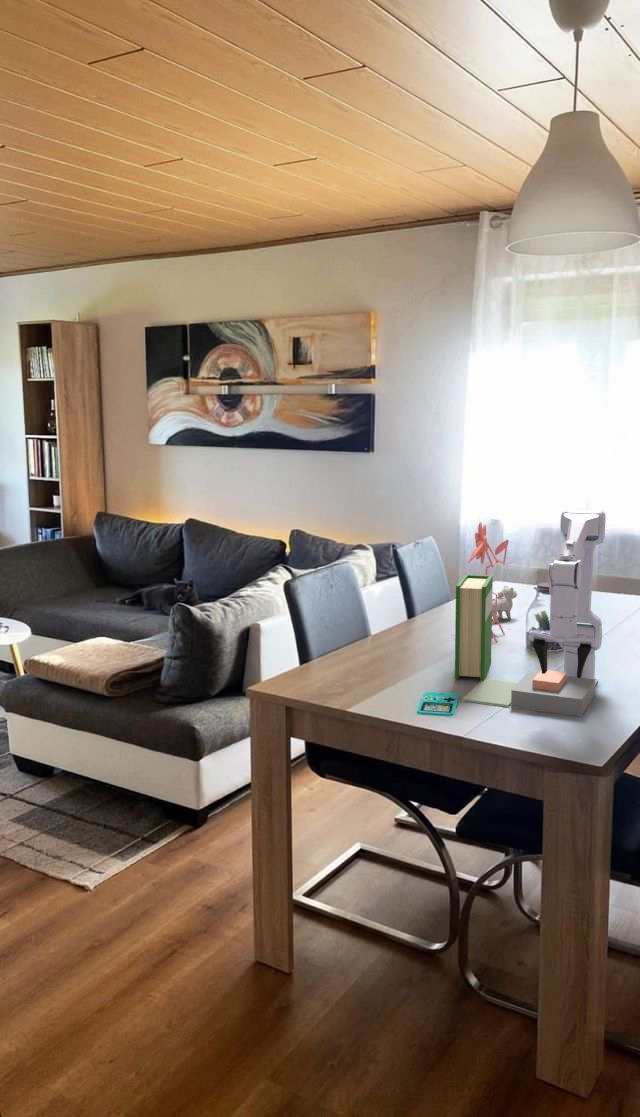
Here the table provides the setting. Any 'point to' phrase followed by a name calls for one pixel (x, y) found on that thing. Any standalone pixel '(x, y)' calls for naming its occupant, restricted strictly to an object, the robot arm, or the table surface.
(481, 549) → the figurine
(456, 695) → the handheld gaming console
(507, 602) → the dog figurine
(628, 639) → the table surface
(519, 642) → the table surface
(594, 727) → the table surface
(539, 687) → the terracotta tile
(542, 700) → the block
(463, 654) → the hardback book
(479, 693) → the sage mat
